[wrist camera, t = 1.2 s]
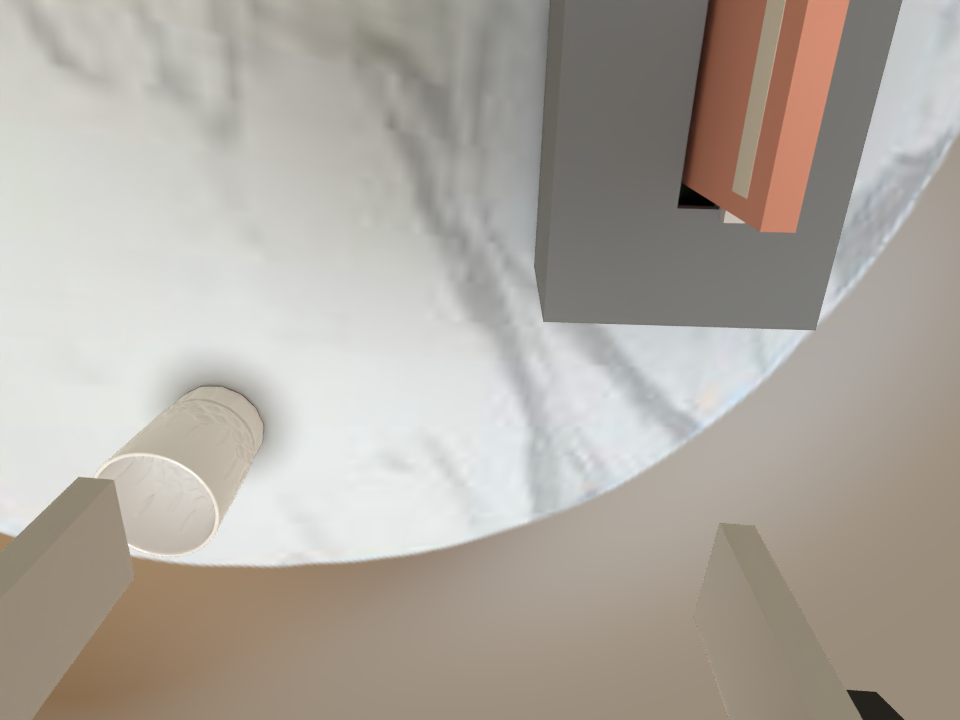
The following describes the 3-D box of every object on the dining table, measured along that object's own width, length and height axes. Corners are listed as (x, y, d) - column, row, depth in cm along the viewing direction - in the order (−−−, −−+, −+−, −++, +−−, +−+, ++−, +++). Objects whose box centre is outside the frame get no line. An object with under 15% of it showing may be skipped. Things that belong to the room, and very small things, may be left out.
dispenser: (558, -146, 33) (582, -235, 23) (831, -141, 32) (971, -230, 23) (534, 267, 42) (544, 325, 32) (746, 273, 42) (820, 334, 32)
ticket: (698, -2, 29) (816, -44, 18) (725, -1, 29) (860, -43, 18) (672, 177, 32) (759, 231, 22) (697, 178, 32) (796, 232, 22)
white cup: (285, 402, 47) (233, 483, 38) (255, 482, 50) (201, 573, 41) (181, 361, 46) (102, 434, 37) (157, 445, 49) (79, 531, 40)
